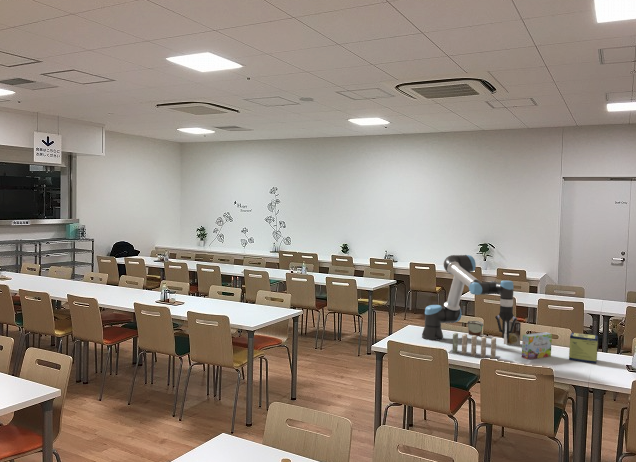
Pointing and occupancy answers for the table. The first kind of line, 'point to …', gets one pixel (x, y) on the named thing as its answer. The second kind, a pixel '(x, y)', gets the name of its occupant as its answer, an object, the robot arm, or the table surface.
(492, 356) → the tile
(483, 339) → the tile
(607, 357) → the table surface
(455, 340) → the tile
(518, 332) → the coffee box
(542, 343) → the snack box
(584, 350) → the protein box
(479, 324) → the food container
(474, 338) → the tile
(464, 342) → the tile
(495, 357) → the mat
